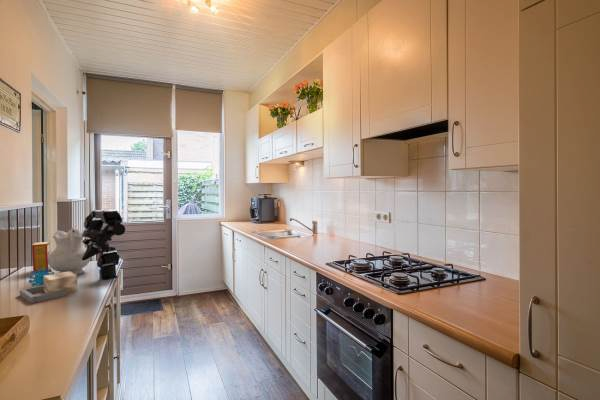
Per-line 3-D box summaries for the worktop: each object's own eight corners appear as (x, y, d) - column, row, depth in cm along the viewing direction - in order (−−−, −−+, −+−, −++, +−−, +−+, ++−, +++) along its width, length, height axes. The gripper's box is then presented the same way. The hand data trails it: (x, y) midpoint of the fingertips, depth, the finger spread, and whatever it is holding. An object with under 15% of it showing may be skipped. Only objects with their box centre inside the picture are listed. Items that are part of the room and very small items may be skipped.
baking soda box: (36, 269, 187) (35, 242, 186) (50, 267, 190) (49, 240, 190) (33, 273, 179) (31, 244, 178) (48, 271, 182) (46, 243, 182)
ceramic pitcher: (99, 274, 178) (101, 229, 179) (58, 280, 162) (60, 230, 162) (80, 269, 190) (82, 227, 190) (40, 275, 173) (42, 228, 174)
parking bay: (53, 288, 151) (53, 282, 151) (67, 295, 140) (67, 289, 140) (19, 295, 141) (19, 289, 141) (31, 303, 130) (31, 297, 130)
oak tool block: (70, 286, 153) (69, 271, 153) (77, 291, 146) (76, 275, 146) (44, 292, 145) (43, 275, 145) (50, 297, 138) (49, 280, 138)
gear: (24, 285, 150) (33, 266, 157) (27, 291, 154) (36, 273, 161) (51, 286, 153) (59, 268, 160) (54, 292, 157) (62, 274, 164)
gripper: (85, 222, 162) (60, 247, 153) (102, 224, 150) (75, 252, 142) (103, 236, 168) (80, 261, 160) (120, 239, 157) (96, 266, 149)
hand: (82, 260), depth 152 cm, fingers closed
